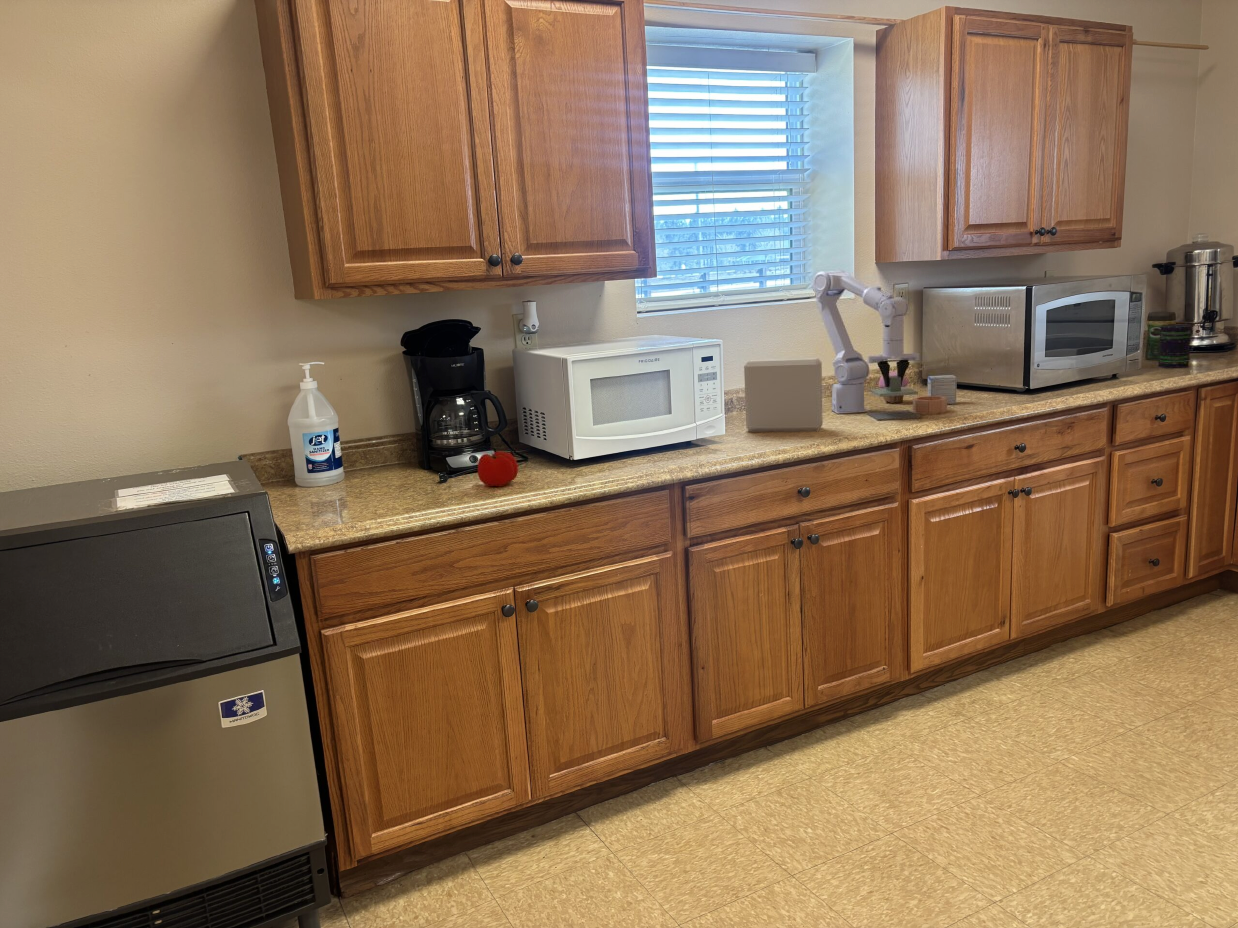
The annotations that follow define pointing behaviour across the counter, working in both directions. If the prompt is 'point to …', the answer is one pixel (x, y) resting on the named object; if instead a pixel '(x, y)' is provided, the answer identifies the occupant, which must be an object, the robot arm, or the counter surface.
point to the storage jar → (1174, 346)
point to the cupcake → (893, 398)
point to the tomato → (497, 468)
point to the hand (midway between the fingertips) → (893, 386)
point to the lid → (894, 388)
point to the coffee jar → (1157, 331)
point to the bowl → (930, 404)
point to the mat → (893, 415)
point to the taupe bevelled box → (783, 395)
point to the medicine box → (943, 387)
